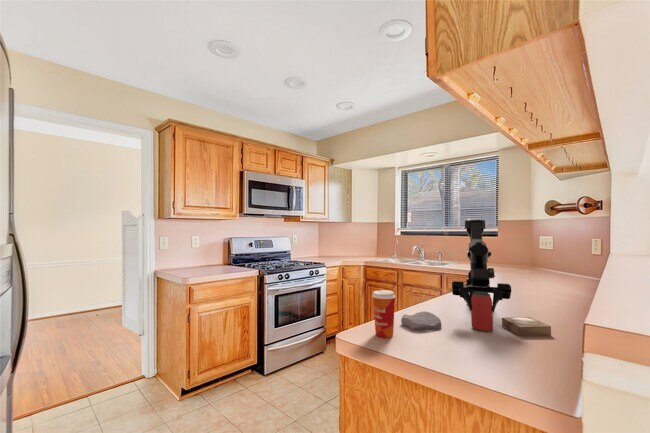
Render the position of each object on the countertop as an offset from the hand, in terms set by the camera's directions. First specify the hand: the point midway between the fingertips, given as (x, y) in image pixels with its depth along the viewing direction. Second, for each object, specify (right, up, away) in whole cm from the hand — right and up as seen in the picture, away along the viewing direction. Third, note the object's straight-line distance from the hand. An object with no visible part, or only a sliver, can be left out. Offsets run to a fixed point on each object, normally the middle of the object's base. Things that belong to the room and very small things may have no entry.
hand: (481, 310), depth 106 cm
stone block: (-19, -8, +5) cm, 21 cm away
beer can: (+1, -7, +1) cm, 7 cm away
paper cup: (-34, -7, -4) cm, 35 cm away
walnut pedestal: (+14, -6, -1) cm, 15 cm away
